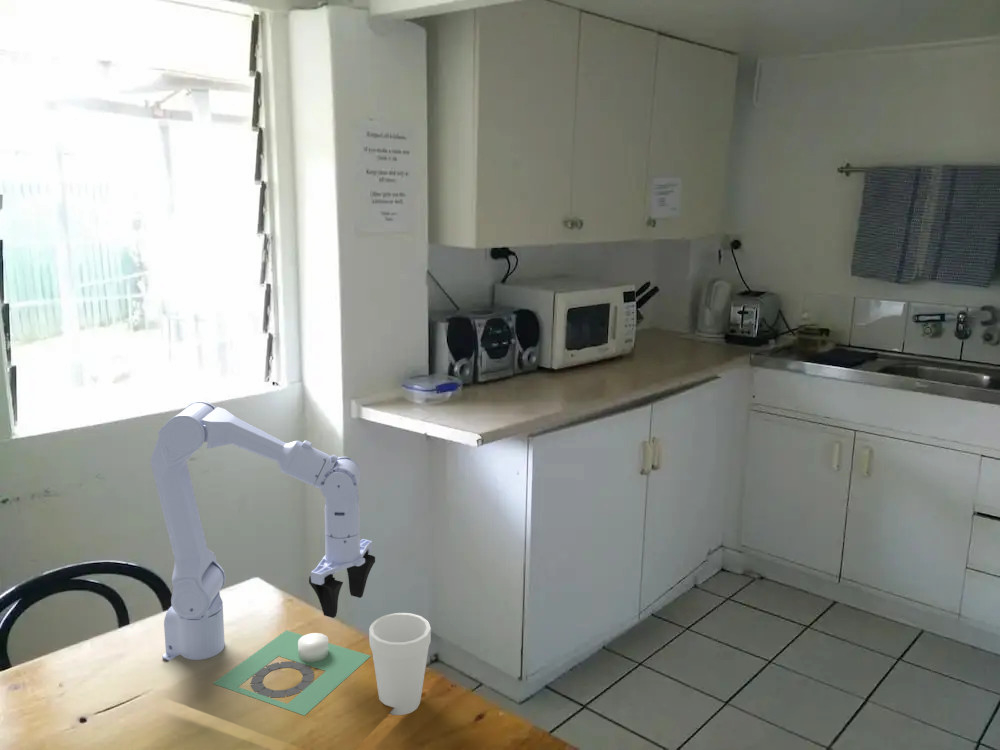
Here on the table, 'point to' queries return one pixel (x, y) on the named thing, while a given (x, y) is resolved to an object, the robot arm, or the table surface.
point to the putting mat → (286, 646)
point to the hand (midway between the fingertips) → (343, 605)
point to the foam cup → (400, 659)
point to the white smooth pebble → (313, 647)
